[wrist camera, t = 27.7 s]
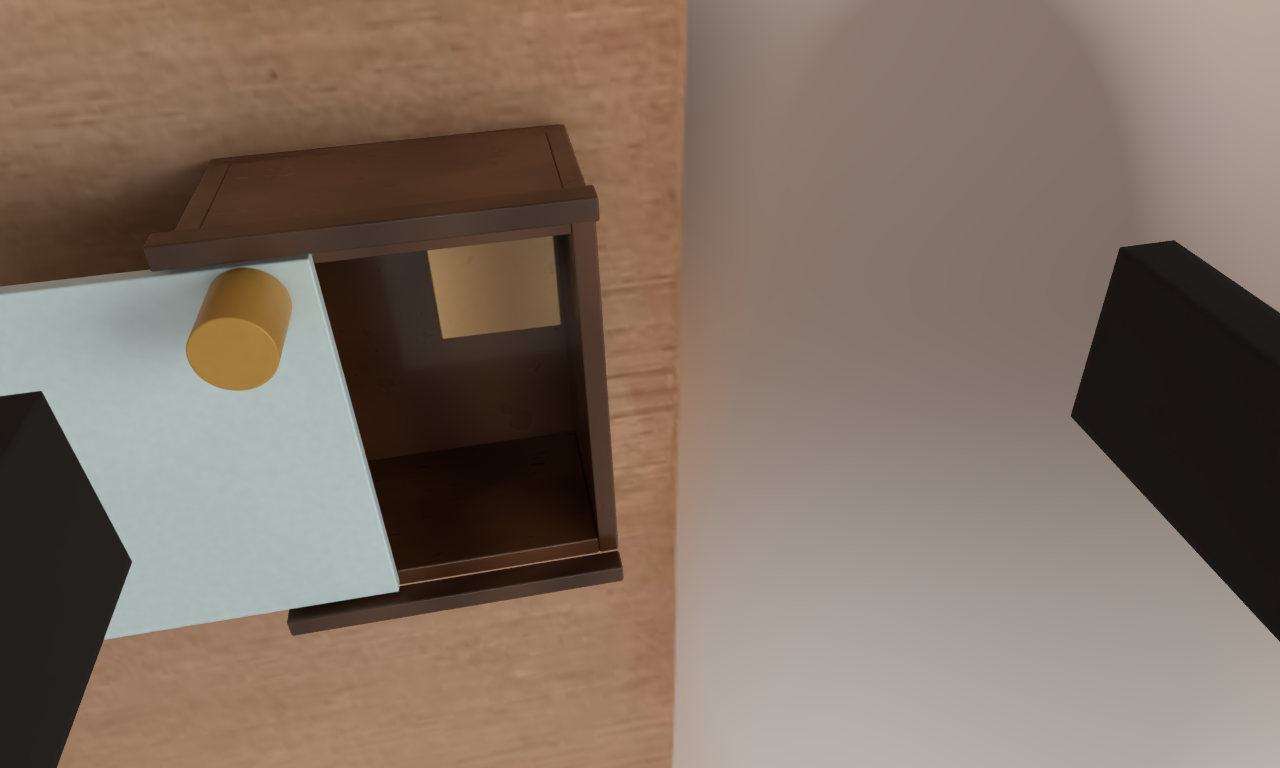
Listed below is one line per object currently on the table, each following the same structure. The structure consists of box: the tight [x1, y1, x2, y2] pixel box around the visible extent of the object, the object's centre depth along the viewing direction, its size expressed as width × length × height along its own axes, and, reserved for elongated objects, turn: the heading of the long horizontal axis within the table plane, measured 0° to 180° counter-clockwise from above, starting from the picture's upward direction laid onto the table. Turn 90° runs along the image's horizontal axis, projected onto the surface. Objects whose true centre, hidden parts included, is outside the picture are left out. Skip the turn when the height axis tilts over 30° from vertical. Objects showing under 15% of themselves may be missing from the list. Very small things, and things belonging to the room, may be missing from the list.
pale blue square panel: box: [0, 254, 399, 640], centre depth 30 cm, size 13×14×4 cm
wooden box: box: [142, 125, 623, 636], centre depth 35 cm, size 13×17×9 cm
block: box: [427, 236, 561, 339], centre depth 34 cm, size 4×4×4 cm
